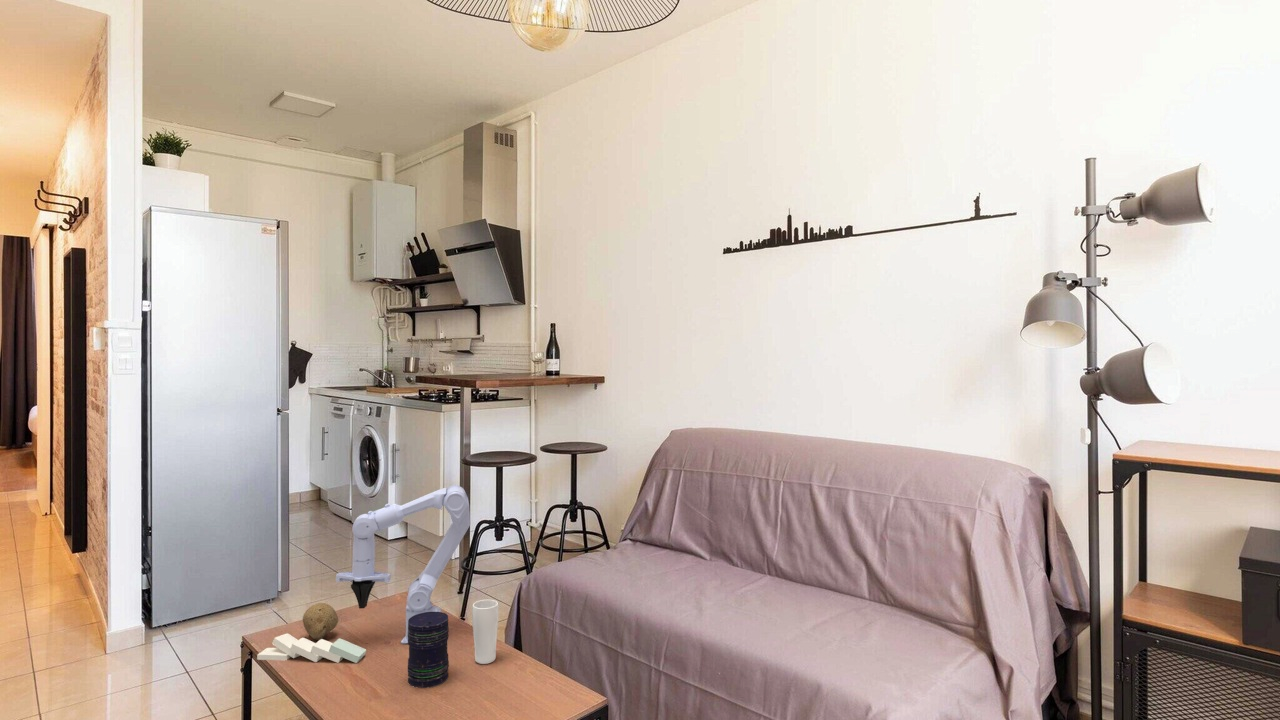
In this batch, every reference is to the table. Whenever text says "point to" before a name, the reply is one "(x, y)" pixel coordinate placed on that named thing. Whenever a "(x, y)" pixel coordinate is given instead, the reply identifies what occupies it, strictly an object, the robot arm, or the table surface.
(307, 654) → the domino
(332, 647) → the domino
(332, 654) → the domino
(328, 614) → the natural sponge
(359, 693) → the table surface
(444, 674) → the dark blue cylinder
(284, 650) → the domino
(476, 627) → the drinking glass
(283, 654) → the domino
